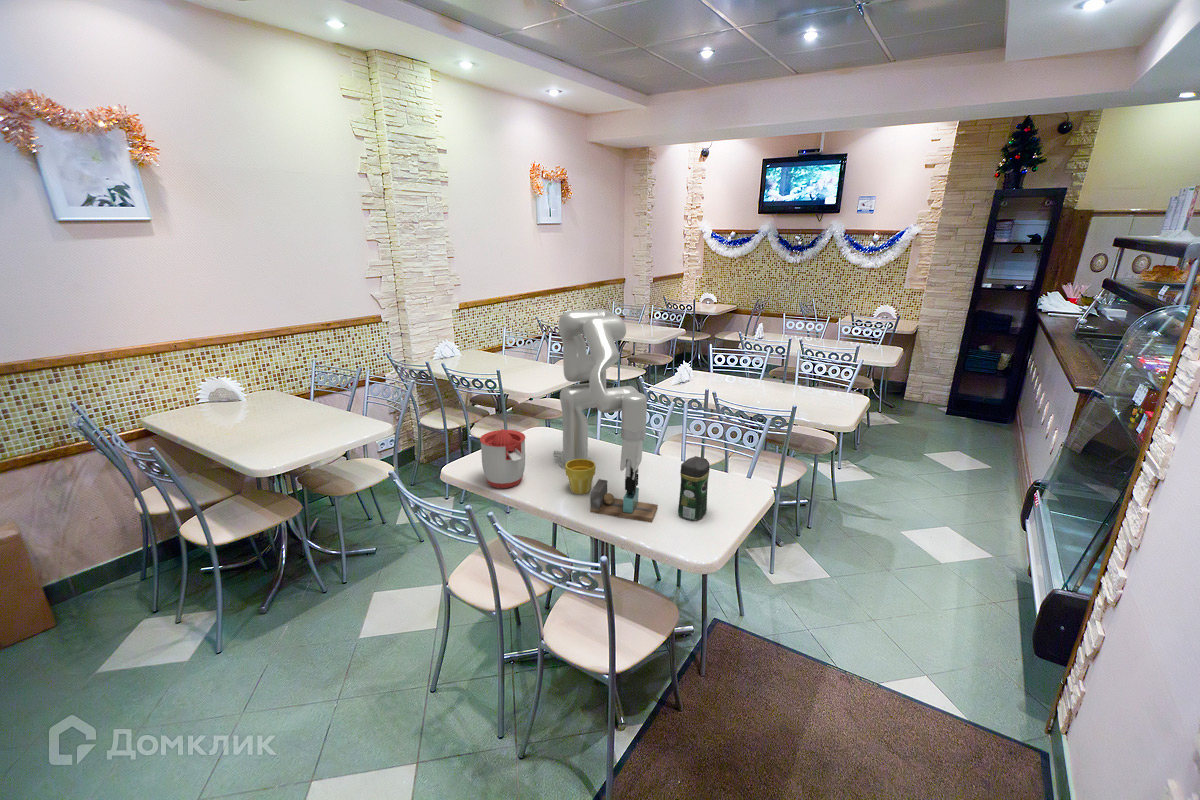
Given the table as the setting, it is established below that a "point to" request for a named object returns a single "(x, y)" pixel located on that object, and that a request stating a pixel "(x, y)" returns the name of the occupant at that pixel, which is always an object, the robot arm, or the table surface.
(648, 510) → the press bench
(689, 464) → the coffee jar
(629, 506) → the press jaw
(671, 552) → the table surface
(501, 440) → the citrus juicer
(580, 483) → the plant pot
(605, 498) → the walnut
